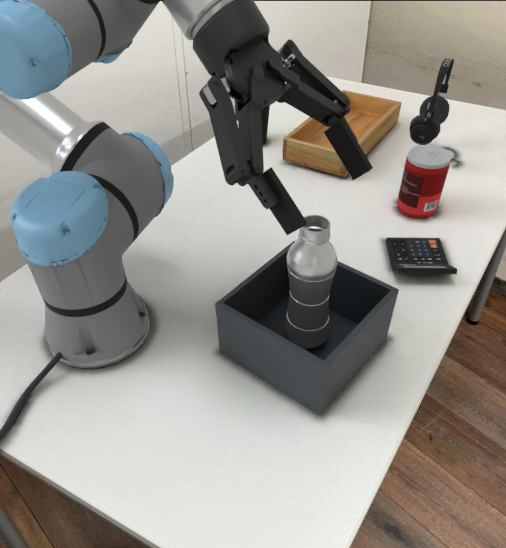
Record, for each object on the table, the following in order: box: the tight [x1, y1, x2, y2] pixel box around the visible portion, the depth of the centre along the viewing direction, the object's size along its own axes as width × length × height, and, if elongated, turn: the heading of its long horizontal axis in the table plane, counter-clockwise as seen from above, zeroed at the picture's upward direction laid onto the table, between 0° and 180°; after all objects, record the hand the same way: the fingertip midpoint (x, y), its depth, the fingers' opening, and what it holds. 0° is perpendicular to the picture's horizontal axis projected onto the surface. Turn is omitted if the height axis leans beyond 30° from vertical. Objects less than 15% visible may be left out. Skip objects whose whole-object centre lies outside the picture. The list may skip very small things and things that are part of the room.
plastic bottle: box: [284, 214, 339, 349], centre depth 68 cm, size 6×7×20 cm
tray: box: [282, 89, 402, 178], centre depth 116 cm, size 31×15×6 cm, turn 149°
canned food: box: [396, 144, 453, 219], centre depth 95 cm, size 8×8×11 cm
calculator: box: [385, 237, 458, 275], centre depth 87 cm, size 9×12×3 cm
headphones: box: [408, 57, 460, 167], centre depth 104 cm, size 15×11×20 cm
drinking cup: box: [261, 105, 271, 146], centre depth 112 cm, size 8×8×20 cm
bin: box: [214, 240, 400, 416], centre depth 72 cm, size 18×18×10 cm
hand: (332, 200), depth 56 cm, fingers open, 13 cm apart
